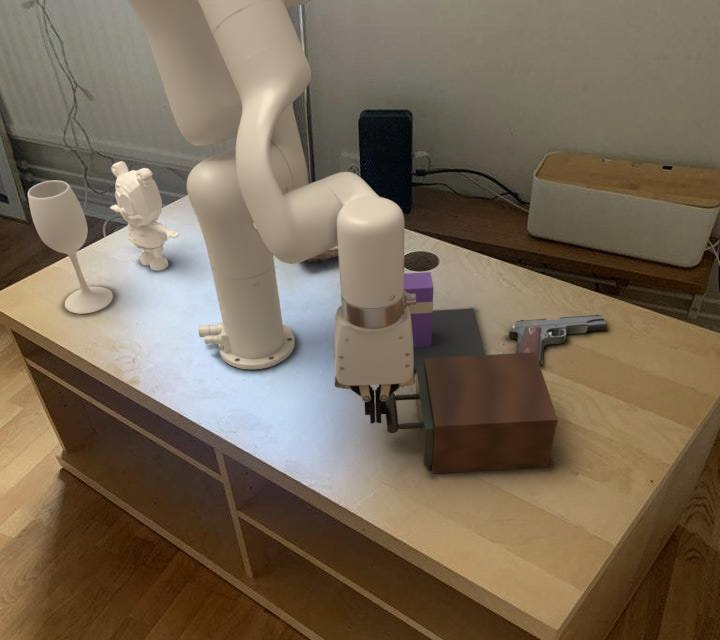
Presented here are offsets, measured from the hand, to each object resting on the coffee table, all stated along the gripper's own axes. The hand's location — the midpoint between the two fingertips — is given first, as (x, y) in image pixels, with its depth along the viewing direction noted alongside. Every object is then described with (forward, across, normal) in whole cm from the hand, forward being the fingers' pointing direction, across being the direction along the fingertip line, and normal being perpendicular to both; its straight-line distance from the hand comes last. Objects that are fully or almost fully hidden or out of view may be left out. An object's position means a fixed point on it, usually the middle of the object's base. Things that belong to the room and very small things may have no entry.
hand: (375, 416), depth 101 cm
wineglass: (+5, +51, -40) cm, 65 cm away
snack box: (+4, -7, -23) cm, 25 cm away
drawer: (+4, -11, 0) cm, 12 cm away
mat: (+5, -8, -23) cm, 25 cm away
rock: (+5, +9, -54) cm, 55 cm away
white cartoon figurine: (+5, +42, -52) cm, 67 cm away
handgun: (+5, -29, -22) cm, 37 cm away
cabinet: (+5, -15, 0) cm, 16 cm away
